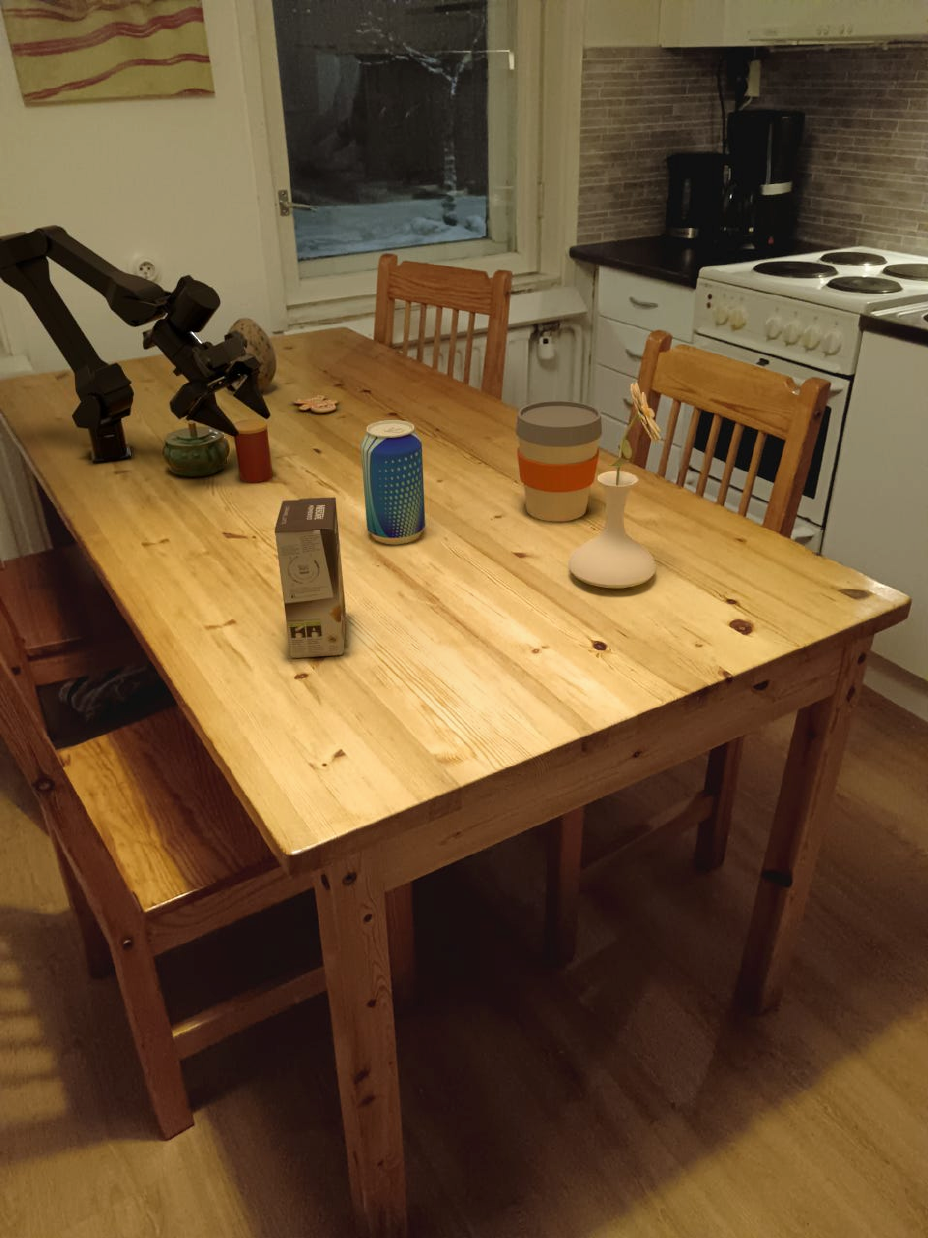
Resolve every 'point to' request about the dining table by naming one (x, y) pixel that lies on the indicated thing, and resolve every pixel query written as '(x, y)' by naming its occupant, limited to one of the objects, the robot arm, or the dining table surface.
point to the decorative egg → (257, 349)
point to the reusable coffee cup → (558, 457)
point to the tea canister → (253, 451)
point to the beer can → (393, 481)
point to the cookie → (317, 404)
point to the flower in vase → (617, 522)
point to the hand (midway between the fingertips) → (253, 426)
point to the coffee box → (311, 576)
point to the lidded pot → (196, 451)
